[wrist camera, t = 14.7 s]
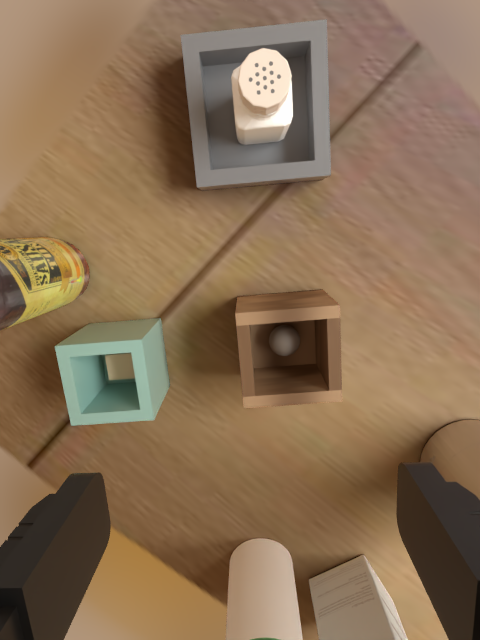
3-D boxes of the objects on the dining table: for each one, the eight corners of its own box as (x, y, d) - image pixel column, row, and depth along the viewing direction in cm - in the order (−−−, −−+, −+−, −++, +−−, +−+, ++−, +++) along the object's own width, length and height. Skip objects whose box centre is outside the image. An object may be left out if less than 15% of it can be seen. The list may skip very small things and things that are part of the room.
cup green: (160, 318, 38) (141, 339, 31) (170, 385, 39) (154, 420, 33) (89, 323, 38) (54, 346, 31) (101, 390, 40) (71, 425, 33)
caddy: (317, 41, 32) (326, 19, 28) (322, 179, 34) (330, 175, 31) (187, 55, 32) (180, 34, 29) (201, 190, 35) (196, 187, 31)
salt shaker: (237, 146, 33) (234, 118, 24) (233, 94, 32) (227, 43, 23) (285, 142, 33) (300, 111, 24) (282, 89, 32) (296, 35, 23)
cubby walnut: (322, 289, 37) (339, 305, 30) (325, 369, 39) (342, 401, 32) (237, 296, 37) (235, 313, 30) (244, 375, 39) (243, 408, 32)
